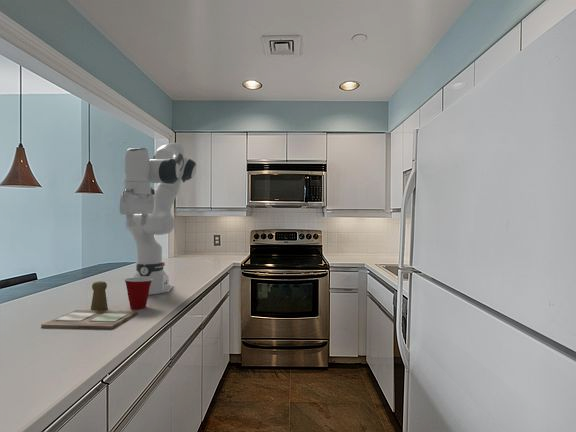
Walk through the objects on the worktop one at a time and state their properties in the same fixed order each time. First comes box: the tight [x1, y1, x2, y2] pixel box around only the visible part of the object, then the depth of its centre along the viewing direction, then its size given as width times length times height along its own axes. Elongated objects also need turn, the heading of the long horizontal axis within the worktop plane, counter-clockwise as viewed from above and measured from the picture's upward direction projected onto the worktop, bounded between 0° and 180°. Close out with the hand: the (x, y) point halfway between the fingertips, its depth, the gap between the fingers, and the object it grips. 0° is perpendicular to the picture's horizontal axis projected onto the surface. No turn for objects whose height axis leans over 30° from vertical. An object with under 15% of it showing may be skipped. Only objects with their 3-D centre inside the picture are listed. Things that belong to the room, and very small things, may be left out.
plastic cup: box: [124, 277, 153, 310], centre depth 142 cm, size 11×11×12 cm
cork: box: [90, 280, 109, 311], centre depth 138 cm, size 6×6×11 cm
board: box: [40, 309, 139, 330], centre depth 124 cm, size 18×24×1 cm
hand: (137, 226), depth 133 cm, fingers open, 8 cm apart
